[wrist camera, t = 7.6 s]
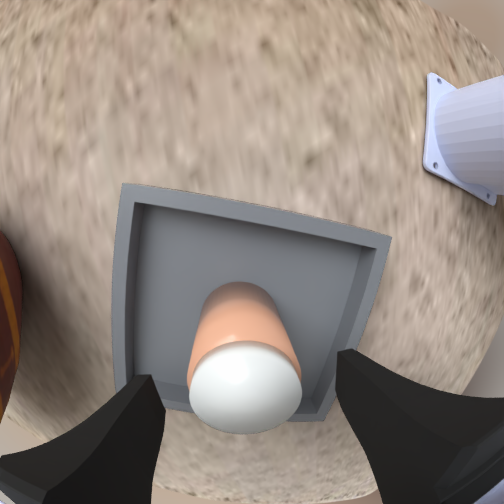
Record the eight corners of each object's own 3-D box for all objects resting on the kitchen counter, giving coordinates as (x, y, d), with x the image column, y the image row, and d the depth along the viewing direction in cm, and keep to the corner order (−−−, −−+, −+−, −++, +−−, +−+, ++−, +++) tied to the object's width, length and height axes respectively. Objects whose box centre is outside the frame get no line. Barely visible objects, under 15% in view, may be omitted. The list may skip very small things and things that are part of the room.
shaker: (273, 276, 15) (305, 340, 8) (280, 344, 16) (307, 427, 9) (194, 287, 15) (169, 357, 8) (208, 353, 16) (199, 440, 9)
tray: (370, 230, 16) (392, 236, 13) (314, 399, 18) (323, 421, 16) (138, 184, 14) (122, 183, 12) (126, 374, 17) (116, 395, 14)
